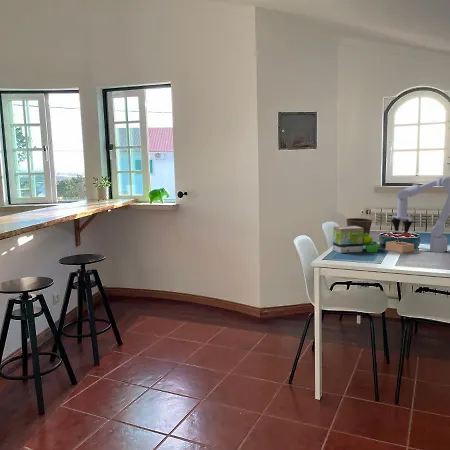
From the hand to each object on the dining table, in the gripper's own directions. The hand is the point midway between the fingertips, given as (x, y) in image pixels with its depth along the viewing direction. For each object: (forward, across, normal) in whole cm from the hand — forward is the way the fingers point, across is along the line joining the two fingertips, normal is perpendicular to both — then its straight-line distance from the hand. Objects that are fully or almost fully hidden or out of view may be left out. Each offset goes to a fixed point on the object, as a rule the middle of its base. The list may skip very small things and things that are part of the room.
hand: (401, 231), depth 282 cm
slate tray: (+10, +8, -7) cm, 15 cm away
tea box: (+11, -9, -33) cm, 36 cm away
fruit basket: (+11, -2, -22) cm, 25 cm away
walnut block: (+9, +10, -8) cm, 16 cm away
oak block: (+9, +4, -8) cm, 13 cm away
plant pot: (+11, -23, -13) cm, 28 cm away
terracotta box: (+10, +7, -8) cm, 14 cm away
